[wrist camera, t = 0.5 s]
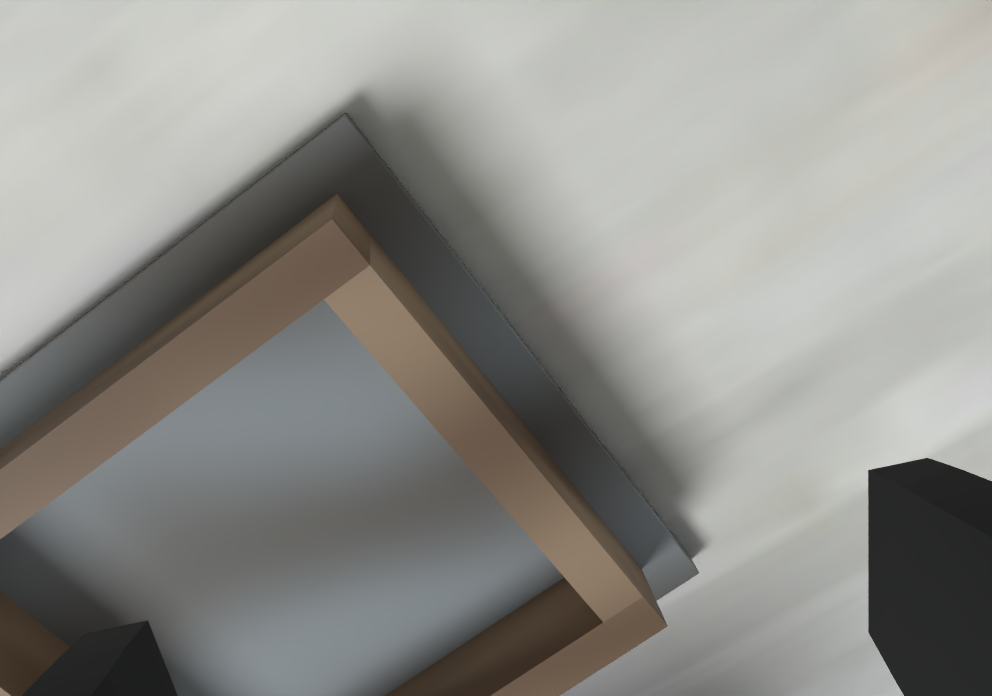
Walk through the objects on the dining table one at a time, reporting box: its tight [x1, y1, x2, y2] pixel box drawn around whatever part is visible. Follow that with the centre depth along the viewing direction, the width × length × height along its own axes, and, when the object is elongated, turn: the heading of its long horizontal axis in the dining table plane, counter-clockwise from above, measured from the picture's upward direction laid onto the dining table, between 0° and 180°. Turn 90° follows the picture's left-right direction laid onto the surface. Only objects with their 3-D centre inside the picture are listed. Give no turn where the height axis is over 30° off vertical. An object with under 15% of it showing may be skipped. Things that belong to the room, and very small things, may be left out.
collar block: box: [0, 113, 699, 696], centre depth 19 cm, size 13×14×2 cm
